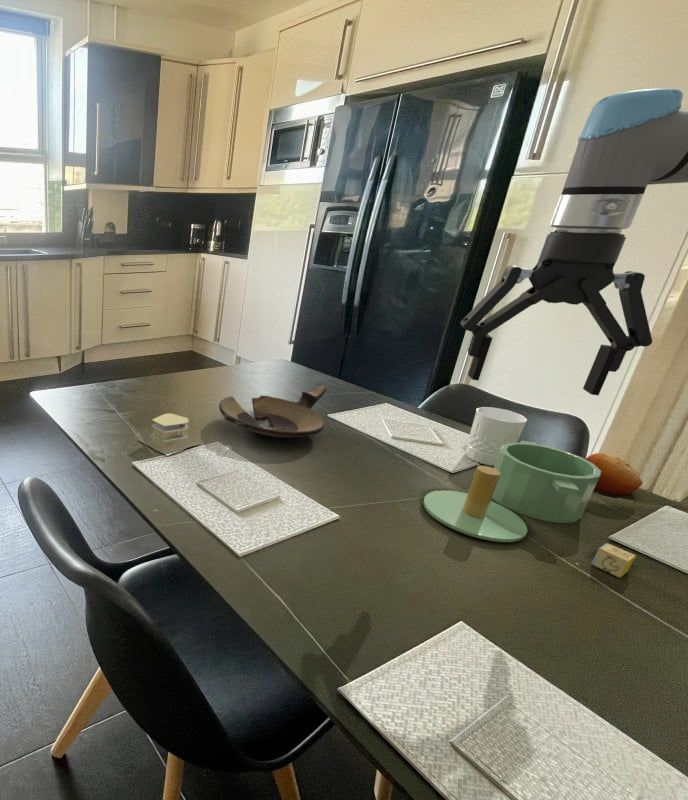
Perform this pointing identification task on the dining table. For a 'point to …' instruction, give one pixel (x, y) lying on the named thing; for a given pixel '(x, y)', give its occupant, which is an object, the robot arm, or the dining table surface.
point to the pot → (544, 482)
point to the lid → (477, 510)
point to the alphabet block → (613, 560)
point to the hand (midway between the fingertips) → (529, 384)
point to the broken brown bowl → (277, 415)
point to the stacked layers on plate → (169, 429)
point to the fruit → (615, 475)
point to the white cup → (493, 433)
